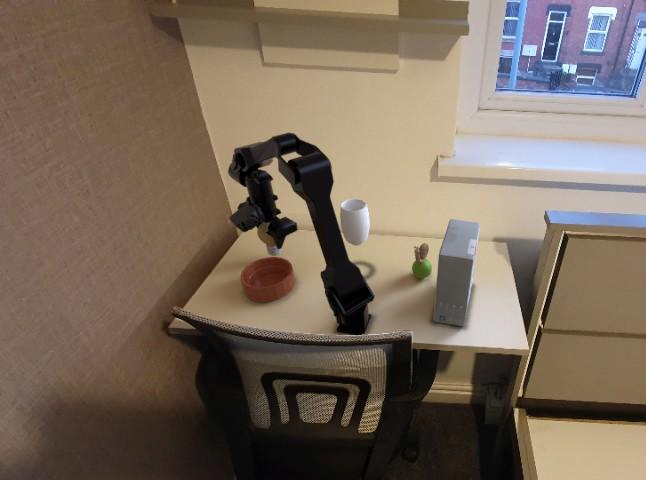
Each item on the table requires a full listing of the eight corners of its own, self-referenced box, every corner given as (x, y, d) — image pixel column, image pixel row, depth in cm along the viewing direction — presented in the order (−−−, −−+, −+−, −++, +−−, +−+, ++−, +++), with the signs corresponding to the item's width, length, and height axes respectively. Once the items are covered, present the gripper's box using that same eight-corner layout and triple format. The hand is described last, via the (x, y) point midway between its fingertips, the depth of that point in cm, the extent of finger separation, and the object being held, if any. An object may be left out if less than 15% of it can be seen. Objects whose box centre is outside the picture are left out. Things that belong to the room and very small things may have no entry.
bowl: (303, 275, 106) (300, 260, 103) (281, 306, 96) (278, 291, 93) (260, 268, 107) (256, 254, 104) (235, 299, 97) (230, 284, 94)
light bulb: (277, 262, 106) (270, 231, 101) (258, 256, 108) (249, 226, 102) (292, 249, 111) (286, 219, 106) (272, 244, 113) (265, 214, 107)
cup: (340, 275, 106) (333, 209, 94) (353, 260, 112) (347, 195, 100) (365, 281, 104) (360, 214, 93) (376, 265, 110) (373, 200, 98)
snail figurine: (406, 280, 106) (406, 243, 99) (417, 267, 110) (418, 231, 103) (423, 287, 104) (425, 250, 97) (435, 273, 108) (437, 237, 102)
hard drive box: (464, 328, 93) (473, 261, 81) (432, 322, 94) (436, 255, 82) (472, 285, 105) (480, 222, 94) (444, 280, 106) (449, 217, 95)
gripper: (210, 192, 98) (227, 243, 107) (251, 219, 89) (265, 272, 98) (252, 177, 106) (264, 226, 114) (293, 201, 96) (303, 252, 105)
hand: (273, 244), depth 108 cm, fingers closed on light bulb, 6 cm apart
